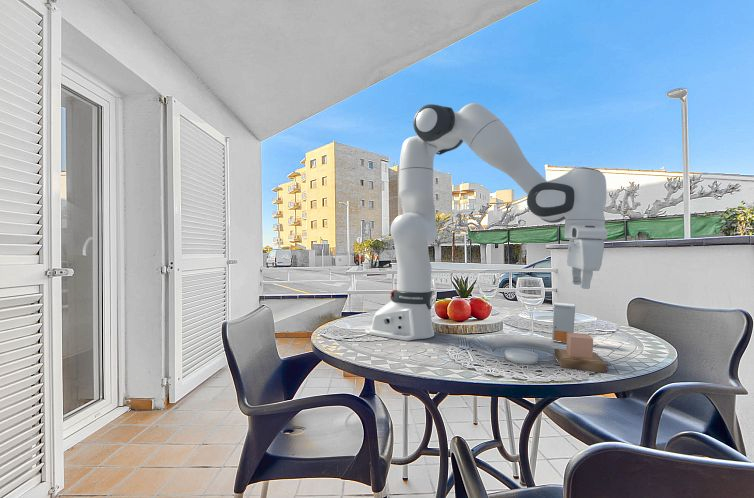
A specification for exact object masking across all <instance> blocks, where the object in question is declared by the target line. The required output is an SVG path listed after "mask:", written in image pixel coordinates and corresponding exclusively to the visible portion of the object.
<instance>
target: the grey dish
mask: <svg viewBox="0 0 754 498" xmlns="http://www.w3.org/2000/svg"><path fill="white" fill-rule="evenodd" d="M504 359H505V360H506V361H508V362H511V363H515V364H519V365H535V364H537V363H538V354H537V353H535V352H533V351H531V350H525V349H518V348H510V349H506V350H505V351H504ZM536 362H537V363H536Z"/></svg>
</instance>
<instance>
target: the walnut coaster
mask: <svg viewBox="0 0 754 498" xmlns="http://www.w3.org/2000/svg"><path fill="white" fill-rule="evenodd" d="M553 351H554V352H553V356H554V358H555V360H556V359H557V360H558V362H559V364H558V365H559V367H560V368H563V369H565V368H566V369H573V370H580V371H581V370H582V371H590V372H591V371H593V372H599V373H607V370H608V369H607V368H608V366H607V365H608V364H607V363H606V361H604V360H603V359H602V357H601V356H600V355H599V354H598V353H596V352H593V357H592V359H588V358H578V357H570V356H569V354H568V353H567V352H566V349H564V348H554V349H553ZM557 360H556V361H557ZM558 362H557V363H558Z"/></svg>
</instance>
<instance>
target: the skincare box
mask: <svg viewBox="0 0 754 498" xmlns="http://www.w3.org/2000/svg"><path fill="white" fill-rule="evenodd" d="M552 311H553V313H552V333H551V341H552V340H556V341H561V342H565V343H567V332H568V333H575V316H576V304H575V303H565V302H553V310H552Z"/></svg>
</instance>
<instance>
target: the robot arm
mask: <svg viewBox="0 0 754 498" xmlns="http://www.w3.org/2000/svg"><path fill="white" fill-rule="evenodd" d="M412 124H413V125H412V127H413V129H414V132H415V134H416V135H414V136H410V137H407V138H406V139H405V140H404V141H403V142H402V145H401V150H400V155H399V166H398V167H399V168H398V197H399V200H400V204H401V209H402V214H400V215H397V216H396V217H395V218H394V219H393V220H392V222H391V225H390V235H391V238H392V240H393V244H394V245H393V246H394V252H395V258H396V272H397V273H396V288H395V289H393V290H392V291H391V292H390V293H389V294H390V296H389V297H390V301H388V302H387V303H386V304H385V305H382V307H380V308H379V309H378V310H376V311H375V313H374V315H373V317H372V323H371V324H370V325H368V326H366V327H365V330H364V333H365V334H366V335H369V336H370V335H371V336H377V337H383V338H388V339H389V338H390V339H396V340H401V341H406V342H407V341H413V340H423V339H430V338H432V337H434V336H435V332H434V327H433V320H432V307H433V291H432V264H431V259H430V254H429V253H430V252H429V246H430V245H432V244H433V242H434V241H436V239H437V236H438V227H437V217H436V208H435V202H434V201H435V200H434V159H435V156H436V155H439V156H441V155H442V154H445V153H449V152H451V151H454V150H456V149H457V148H459V147H460V146H461V145H462V144H463V143H465V144H466V146H468V147H469V148H470V149H471V151H472V152H473V153H474V154H475V155H476V156H477V157H478V158H479V159H481V160H482V161H484V162H485V163H487V164H488V165H490V166H491V167H493V168H495V169H497V170H498V171H501V172H503V174H506V175H507V176H508V177H510V178H511V179H512V180H513V181H514V182H515V183H516V184H517V185H518V186H519V187H520V188H521V189H522V191H524V193H526V195H527V197H526V205H527V208H528V209H529V211H530V212H531V213H532V214H533V215H534V216H536V217H538V218H540V219H541V220H542V221H544V222H547V223H549V224H555V223H560V222H562V221H564V235H563V237H564V239H568V240H569V241H568V245H567V246H568V247H567V259H566V264H567V266H569V267H571V275H572V281H571V282H572V284H573V285H577V286H578V285H580V287H581V289H583V290H589V289H590V288H591V282H592V278H593V276H594V272H599V271H600V269H601V266H602V264H603V257H604V248H605V240H607V239H608V229H606V227H605V226H606V225H605V224H606V218H605V215H604V213H605V212H604V211H605V207H606V205H607V179H606V176H605V174H604V173H603V172H602V171H600V170H598V169H596V168H591V167H585V166H584V167H583V166H582V167H575V168H572V169H570V170H569V172H567V173H565V174H563V175H561V176H559V177H557V178H554V179H551V180H546V179H545V178H544V177H543V176H542V175H541V173H540V172H539V171H537V170H536V169H535V167H534V166H533V165H532V164H531V162H529V161H528V159H527V158H526V157H525V155H524V153H523V151H522V149H521V147H520V146H519V143H518V142H517V141H516V140H517V139H515V137H514V135H513V134H512V132H511V130H510V129H509V128H508V127H507V126H506V124H505V123H504V122H503V121H502V120H501V119H500V118H498V117H497V115H496V114H494V113H493V112H492V111H490V110H489V109H488V108H486V106H485V107H484V106H483V105H481V104H480V103H477V102H471V103H468V104H465V105H464V106H463V107H462V108H460V110H458V111H454V109H453V108H452V107H449V106H444V105H439V104H430V103H429V104H426V105H423V106H421V107H420V108H419V109H418V110H417V111H416V112H415V115H414V118H413V123H412Z"/></svg>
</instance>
